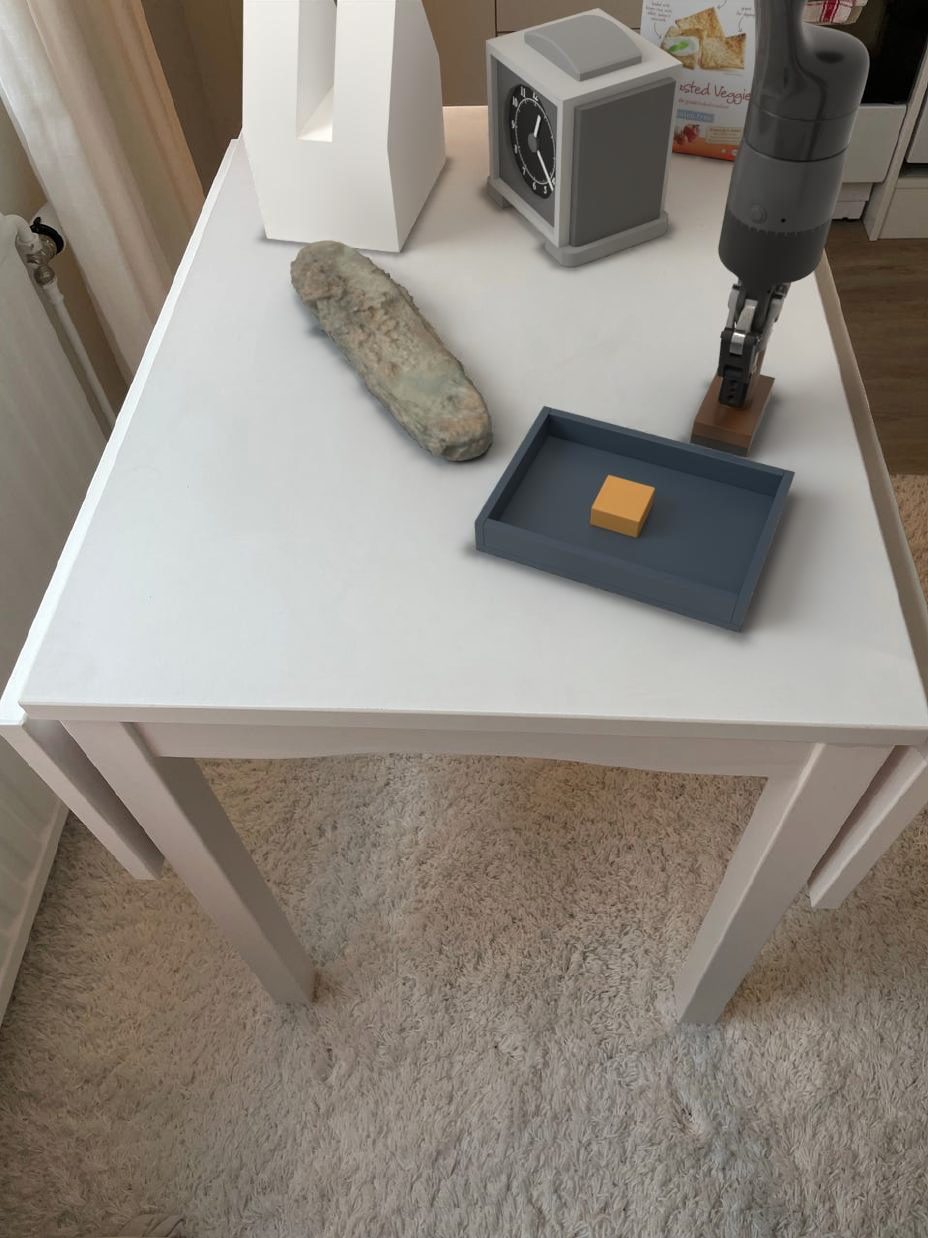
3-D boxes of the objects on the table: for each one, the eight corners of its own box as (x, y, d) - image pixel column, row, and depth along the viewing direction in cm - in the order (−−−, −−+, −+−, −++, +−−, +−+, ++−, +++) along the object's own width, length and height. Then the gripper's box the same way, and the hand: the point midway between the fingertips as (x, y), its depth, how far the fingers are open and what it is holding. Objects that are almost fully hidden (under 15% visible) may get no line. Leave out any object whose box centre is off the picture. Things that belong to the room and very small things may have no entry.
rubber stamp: (769, 399, 86) (790, 319, 79) (746, 457, 82) (766, 378, 75) (715, 386, 88) (731, 306, 81) (689, 442, 83) (704, 363, 77)
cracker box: (627, 148, 113) (645, -57, 96) (641, 123, 117) (661, -79, 100) (745, 165, 110) (786, -44, 93) (756, 140, 113) (797, -67, 96)
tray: (786, 500, 79) (795, 471, 76) (739, 632, 71) (747, 606, 68) (543, 433, 85) (543, 405, 82) (475, 549, 77) (473, 521, 75)
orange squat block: (652, 504, 78) (655, 487, 77) (637, 538, 76) (639, 521, 74) (606, 491, 79) (608, 474, 78) (589, 524, 77) (591, 507, 76)
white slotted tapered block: (325, 150, 117) (283, -95, 96) (446, 160, 114) (429, -89, 94) (267, 238, 106) (207, -17, 86) (399, 252, 103) (369, -8, 83)
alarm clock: (483, 189, 109) (476, 13, 95) (581, 157, 113) (590, -19, 98) (566, 269, 99) (573, 86, 85) (671, 231, 102) (696, 48, 88)
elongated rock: (423, 495, 83) (521, 456, 86) (422, 451, 79) (525, 412, 82) (268, 276, 100) (354, 250, 103) (260, 230, 96) (350, 205, 99)
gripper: (811, 263, 63) (760, 454, 77) (855, 159, 71) (800, 349, 84) (701, 241, 65) (670, 430, 79) (754, 142, 73) (717, 330, 87)
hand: (737, 387), depth 82 cm, fingers open, 3 cm apart
